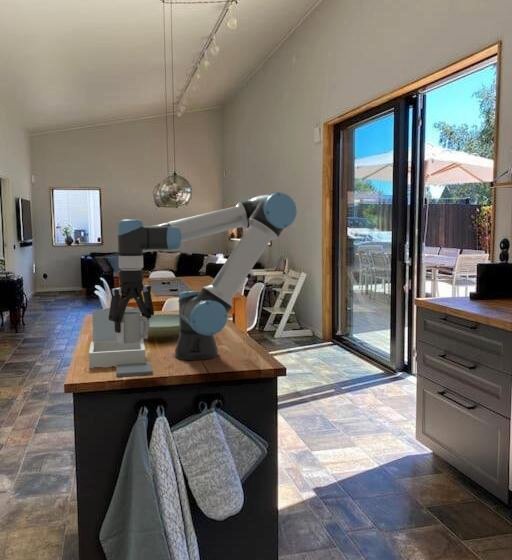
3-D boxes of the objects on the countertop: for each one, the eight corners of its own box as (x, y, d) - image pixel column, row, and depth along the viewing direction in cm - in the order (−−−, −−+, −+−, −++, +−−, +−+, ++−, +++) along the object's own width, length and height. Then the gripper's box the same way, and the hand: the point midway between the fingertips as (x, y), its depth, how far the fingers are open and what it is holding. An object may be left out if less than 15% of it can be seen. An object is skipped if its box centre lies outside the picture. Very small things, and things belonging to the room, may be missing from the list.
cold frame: (145, 364, 187) (144, 318, 186) (89, 368, 183) (87, 320, 181) (142, 349, 210) (141, 307, 208) (92, 352, 205) (90, 309, 204)
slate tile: (152, 374, 176) (152, 371, 175) (116, 376, 173) (116, 373, 173) (150, 365, 186) (150, 362, 186) (116, 367, 184) (116, 364, 183)
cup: (118, 339, 182) (117, 311, 181) (150, 337, 183) (149, 310, 182) (116, 343, 174) (116, 315, 174) (149, 342, 176) (149, 314, 175)
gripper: (150, 266, 186) (151, 333, 189) (94, 270, 171) (96, 343, 173) (165, 267, 181) (166, 336, 184) (109, 272, 166) (110, 347, 168)
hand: (132, 340), depth 178 cm, fingers closed on cup, 8 cm apart
